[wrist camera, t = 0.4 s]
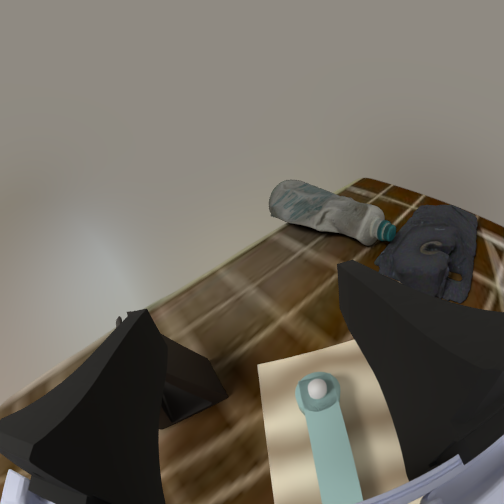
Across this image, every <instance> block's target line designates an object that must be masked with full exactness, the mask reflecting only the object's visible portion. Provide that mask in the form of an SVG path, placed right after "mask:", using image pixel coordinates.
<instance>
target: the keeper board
mask: <svg viewBox="0 0 504 504" xmlns="http://www.w3.org/2000/svg"><path fill="white" fill-rule="evenodd" d="M314 372H326V373H331V375H333V376H334V377H335V378H336V379H337V380H338V382H339V384H340V403H339V405H340V409H341V412H342V416H343V420H344V423H345V427H346V431H347V435H348V439H349V442H350V446H351V450H352V454H353V458H354V463H355V467H356V471H357V475H358V479H359V484H360V488H361V493H362V497H363V501H364V500H367V499H370V498H372V497H375V496H378V495H380V494H383V493H385V492H387V491H390V490H392V489H394V488H397V487H399V486H401V485H403V484H406V483H408V482H409V480H408V477H407V475H406V470H405V465H404V461H403V456H402V452H401V448H400V444H399V440H398V437H397V433H396V430H395V427H394V423H393V420H392V417H391V415H390V412H389V409H388V406H387V403H386V400H385V398H384V395H383V393H382V390H381V388H380V385H379V383H378V381H377V379H376V377H375V375H374V373H373V371H372V369H371V367H370V366H369V364H368V362H367V360H366V358H365V357H364V355H363V353H362V352H361V350H360V348H359V346H358V345H357V343H356V341H355V339H354V340H351V341H348V342H345V343H341V344H338V345H335V346H331V347H328V348H324V349H321V350H317V351H313V352H310V353H306V354H302V355H298V356H294V357H290V358H286V359H281V360H277V361H273V362H268V363H263V364H258V374H259V382H260V391H261V399H262V407H263V416H264V424H265V432H266V440H267V448H268V456H269V464H270V472H271V480H272V488H273V495H274V503H275V504H322V500H321V495H320V489H319V484H318V479H317V473H316V468H315V463H314V458H313V452H312V447H311V442H310V437H309V432H308V427H307V422H306V417H305V415H304V414H303V413H302V412H301V411H300V409H299V406H298V403H297V400H296V397H295V390H296V386H297V384H298V381H300V380H301V379H302V378H303V377H305V376H306V375H308V374H311V373H314ZM424 496H425V495H424ZM422 498H423V496H422V497H420V498H418V499H416V500H414V501H412V502H410V503H408V504H420V501H421V499H422Z"/></svg>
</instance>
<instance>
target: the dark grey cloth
mask: <svg viewBox="0 0 504 504" xmlns="http://www.w3.org/2000/svg"><path fill="white" fill-rule="evenodd" d="M477 225H478V224H477V218H476V217H475V215H473V214H471V213H469V212H467V211H465V210H461V208H458V207H456V206H453V205H439V206H433V205H425V206H420V207H419V208H418V209H417V210H416V211H415V212H414V214H413V216H412V217H411V218H410V219H409V220H408V221H407V223H406V224H405V225H404V226H403V227H402V228H401V229H400V230H399V232H398V233H397V234H396V236H395V237H394V239H393V240H392V241H391V242H390V243H389V245H388V246H387V247H386V248H385V250H384V251H383V252H382V253H381V254H380V256H378V257H377V259H376V261H375V262H374V263H375V264H376V265H377V266H379V268H380V270H379V272H378V273H380V274H383V275H386V276H388V277H390V278H393V279H395V280H398V281H400V282H401V283H402V284H403V285H405V286H408V287H410V288H412V289H415V290H417V291H419V292H422V293H424V294H427V295H430V296H433V297H438V298H439V299H441V298H443V299H446V300H447V301H449V300H450V299H451V300H453V301H455V302H458V303H462V302H463V301H464V300H466V298H467V296H468V292H469V290H470V287H471V278H472V273H473V264H474V263H473V261H474V256H475V254H476V253H475V250H476V233H477V232H476V228H477ZM449 271H450V272H455V273H458V274H461V276H462V280H461V281H455V280H452V279H450V278H448V276H449V273H448V272H449Z"/></svg>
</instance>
